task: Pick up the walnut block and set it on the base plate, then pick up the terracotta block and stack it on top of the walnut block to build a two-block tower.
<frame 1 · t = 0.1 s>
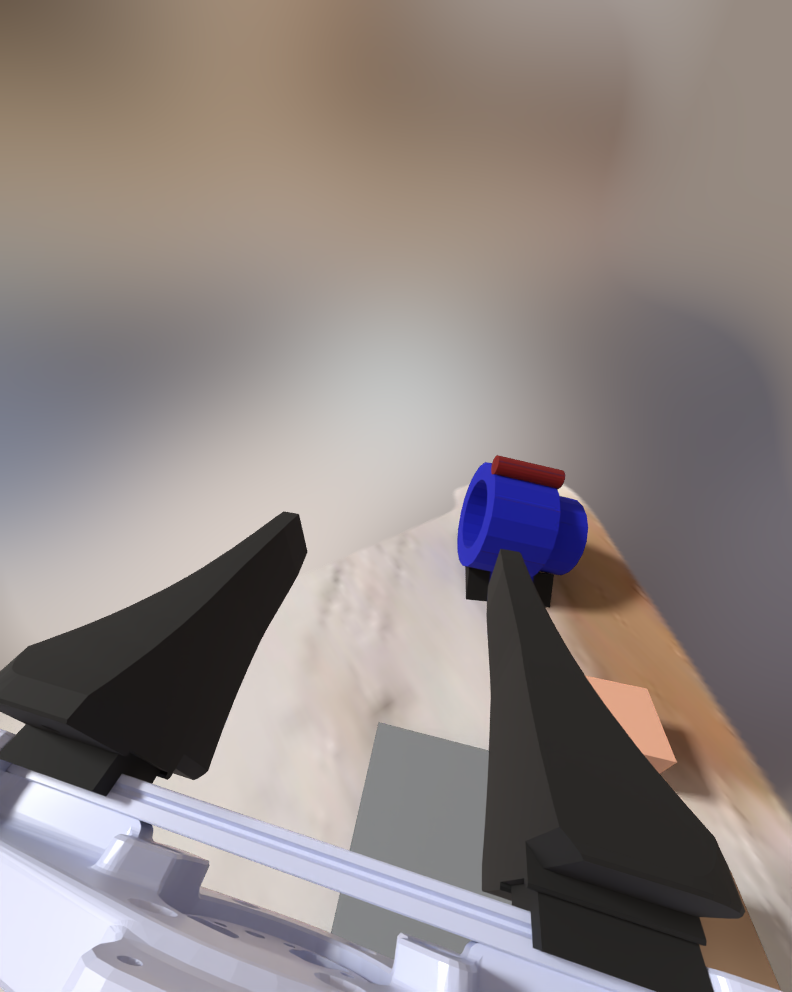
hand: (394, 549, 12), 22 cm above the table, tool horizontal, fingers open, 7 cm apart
terracotta block: (597, 742, 25), on the table
base plate: (448, 866, 20), on the table
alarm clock: (504, 565, 41), on the table
walnut block: (654, 932, 18), on the table
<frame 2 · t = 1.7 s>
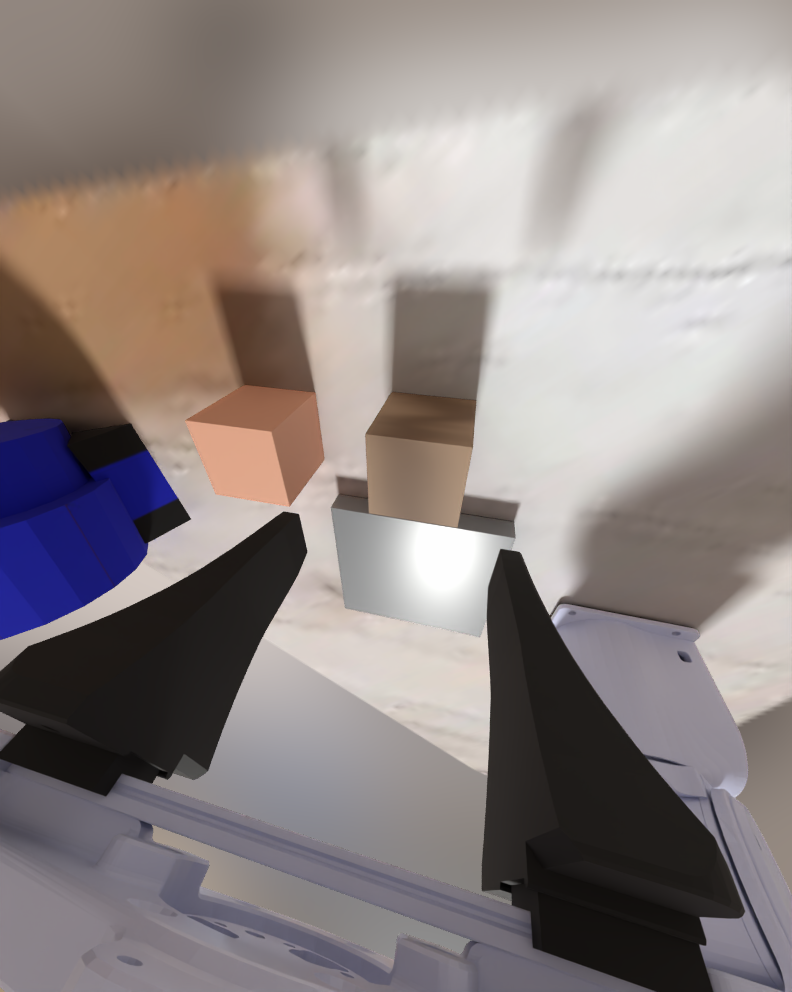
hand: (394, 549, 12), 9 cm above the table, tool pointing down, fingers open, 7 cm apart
terracotta block: (287, 423, 20), on the table
base plate: (417, 564, 26), on the table
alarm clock: (103, 463, 27), on the table
walnut block: (429, 433, 19), on the table
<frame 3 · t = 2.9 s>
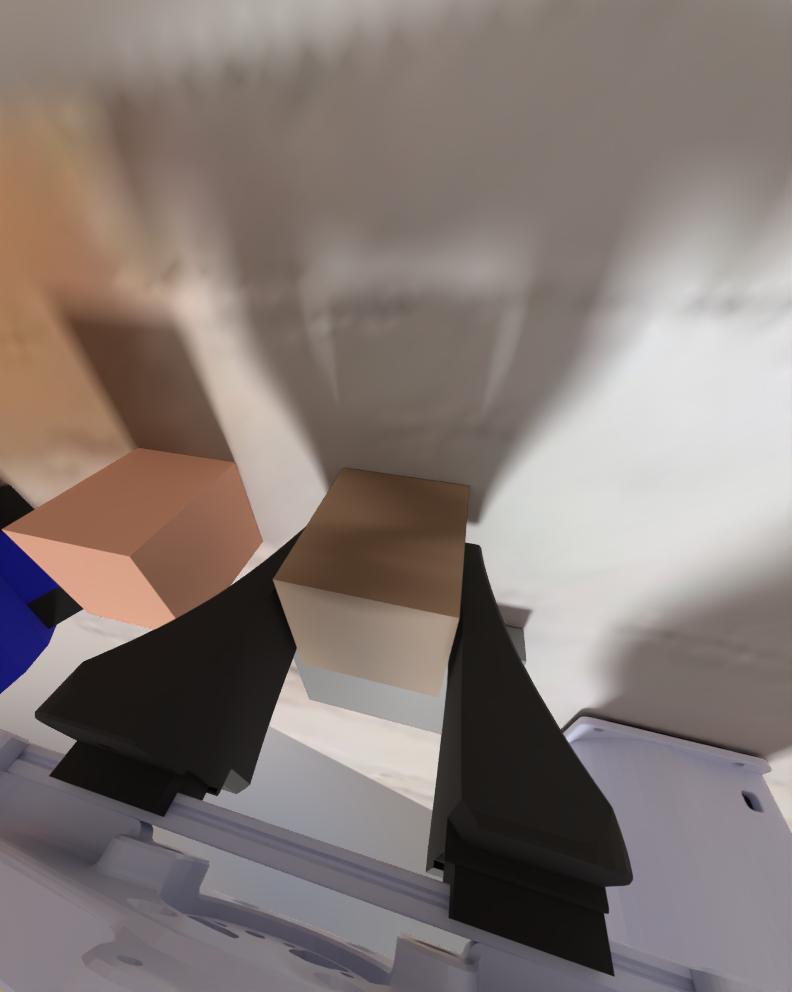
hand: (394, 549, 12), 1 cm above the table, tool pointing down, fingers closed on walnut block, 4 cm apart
terracotta block: (205, 497, 15), on the table
base plate: (396, 659, 20), on the table
walnut block: (402, 523, 13), on the table, touching gripper
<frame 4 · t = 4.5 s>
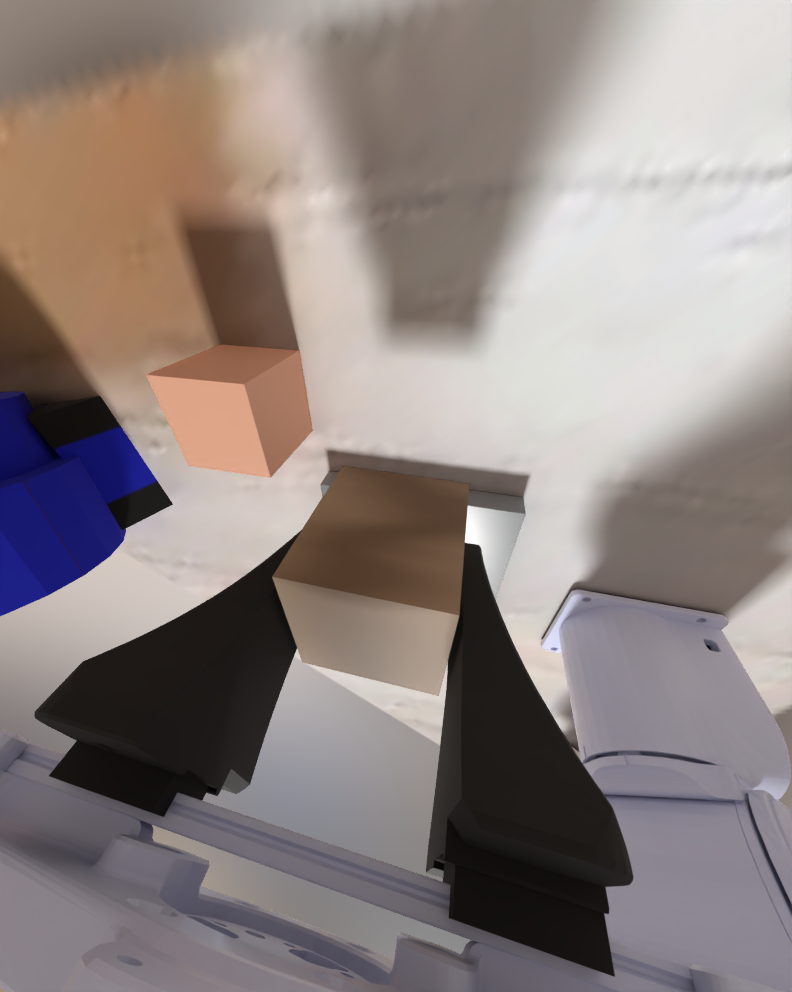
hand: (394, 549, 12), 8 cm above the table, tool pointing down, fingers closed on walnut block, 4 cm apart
terracotta block: (269, 389, 18), on the table
base plate: (416, 549, 24), on the table
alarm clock: (76, 444, 25), on the table
walnut block: (402, 521, 13), point 7 cm above the table, touching gripper
when the fingers open (4 cm above the table, at t = 6.3 s): walnut block stays where it is, resting on base plate.
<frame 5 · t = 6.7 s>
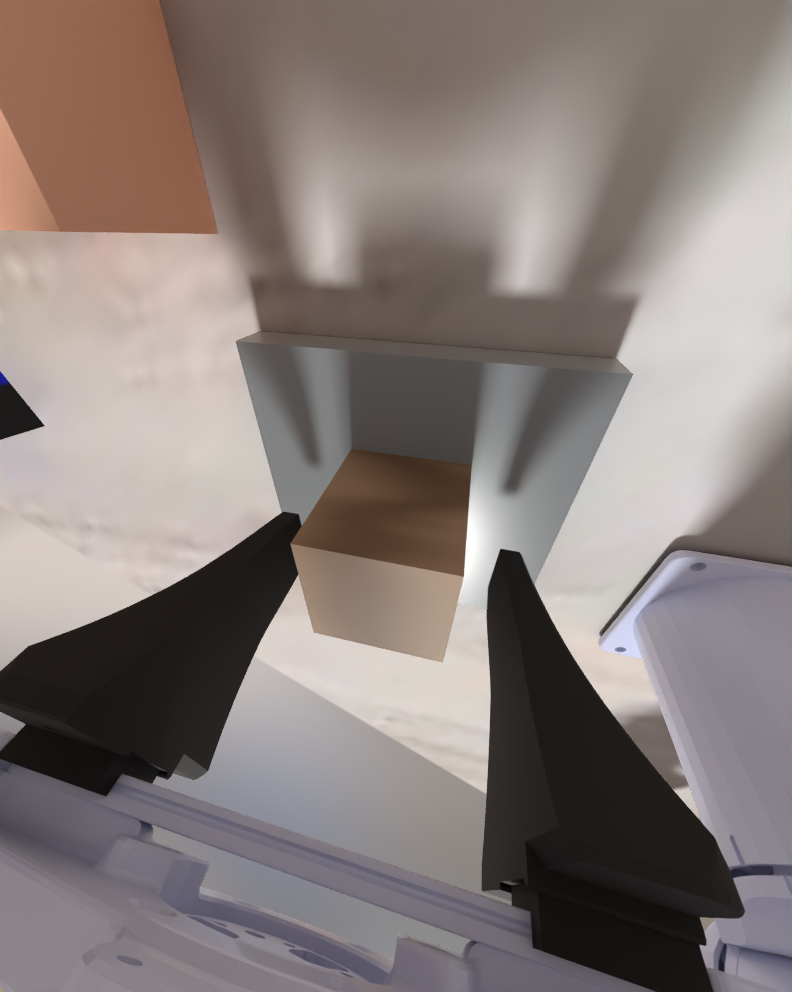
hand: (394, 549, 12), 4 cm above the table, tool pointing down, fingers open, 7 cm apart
terracotta block: (123, 130, 9), on the table
base plate: (413, 486, 15), on the table
walnut block: (407, 503, 13), point 1 cm above the table, touching base plate
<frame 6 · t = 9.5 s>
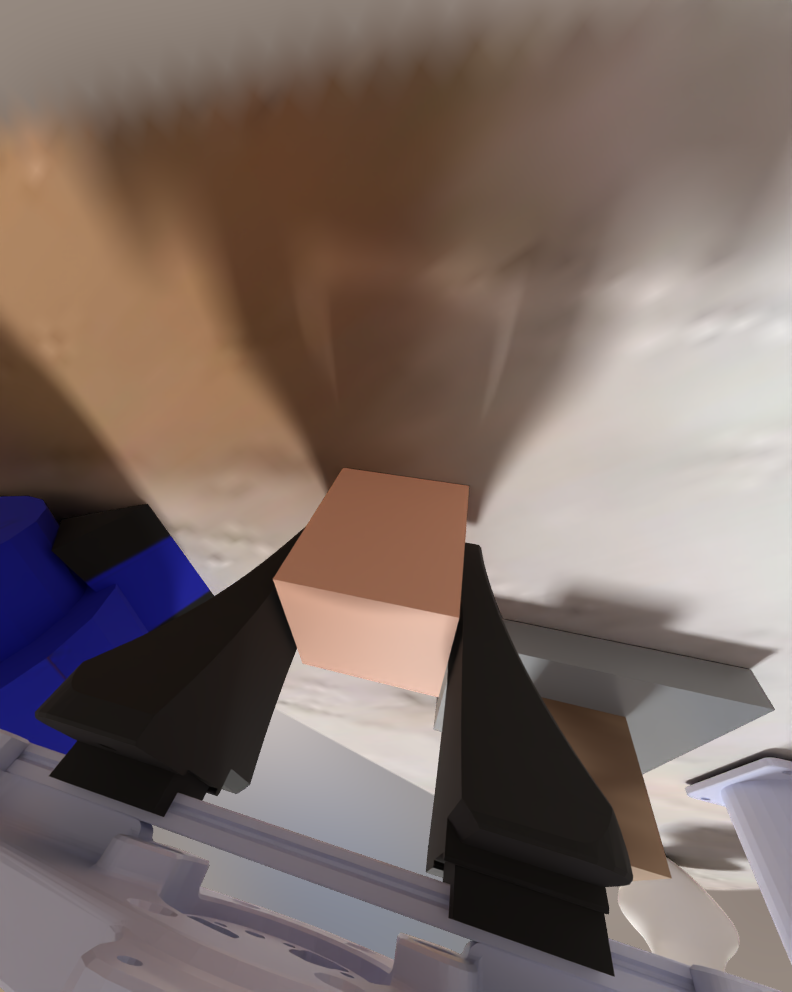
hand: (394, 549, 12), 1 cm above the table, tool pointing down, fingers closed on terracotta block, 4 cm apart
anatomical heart: (655, 851, 35), on the table
terracotta block: (402, 523, 13), on the table, touching gripper
base plate: (552, 692, 18), on the table
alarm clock: (106, 543, 20), on the table
walnut block: (558, 721, 17), point 1 cm above the table, touching base plate
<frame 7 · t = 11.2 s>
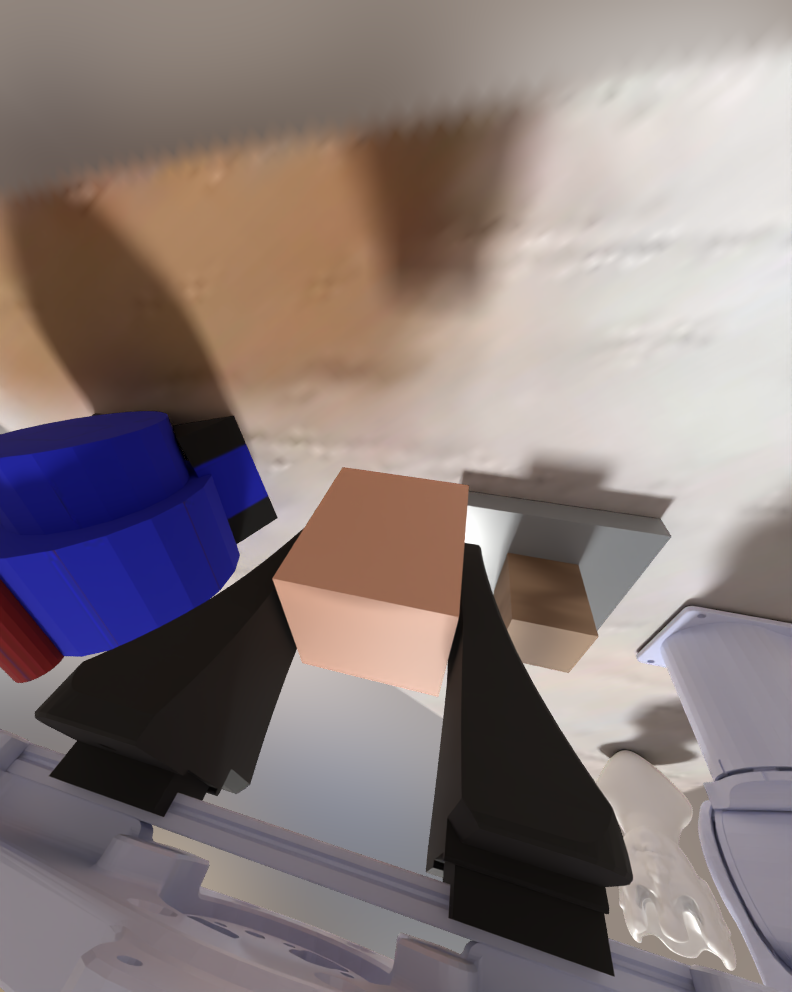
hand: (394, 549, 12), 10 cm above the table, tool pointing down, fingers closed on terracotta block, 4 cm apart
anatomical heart: (626, 751, 41), on the table
terracotta block: (401, 522, 13), point 8 cm above the table, touching gripper
base plate: (529, 565, 24), on the table
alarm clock: (189, 459, 26), on the table
walnut block: (532, 579, 23), point 1 cm above the table, touching base plate
when the fingers open (9 cm above the table, at t = 13.0 s): terracotta block stays where it is, resting on walnut block.
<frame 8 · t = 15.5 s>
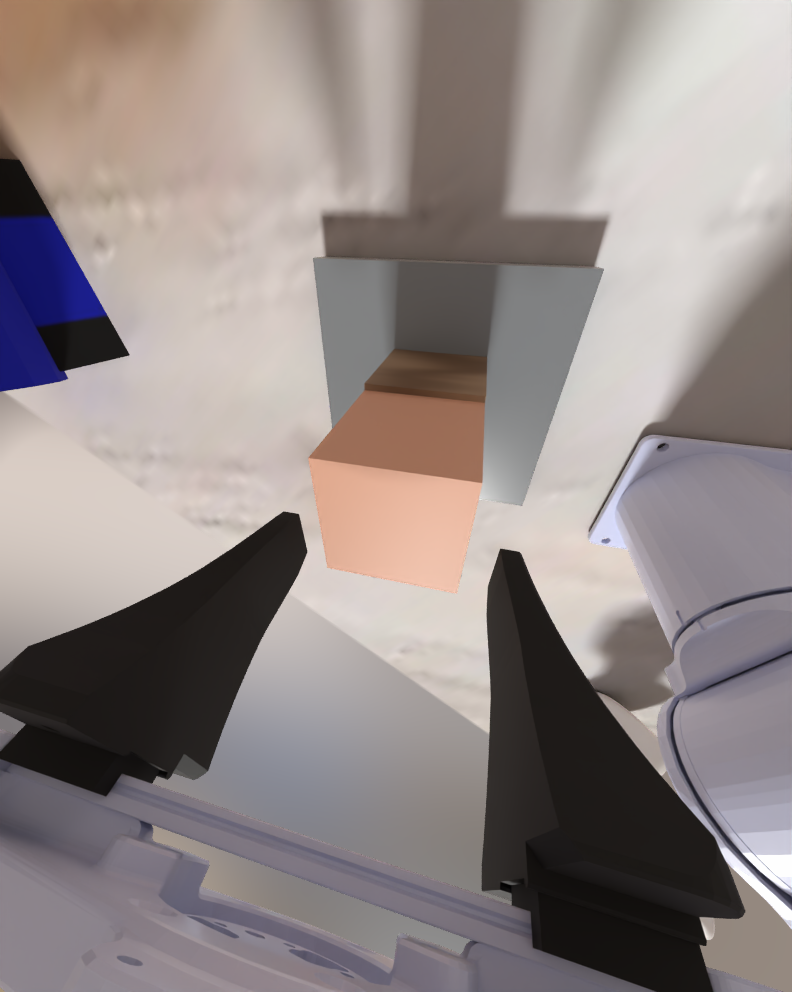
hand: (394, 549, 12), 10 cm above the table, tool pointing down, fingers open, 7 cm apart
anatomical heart: (595, 694, 35), on the table
terracotta block: (418, 449, 13), point 6 cm above the table, touching walnut block
base plate: (438, 391, 18), on the table
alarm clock: (5, 266, 20), on the table
walnut block: (435, 398, 17), point 1 cm above the table, touching base plate, terracotta block
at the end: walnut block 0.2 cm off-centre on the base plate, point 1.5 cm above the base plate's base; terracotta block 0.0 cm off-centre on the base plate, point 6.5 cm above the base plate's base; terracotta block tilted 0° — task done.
